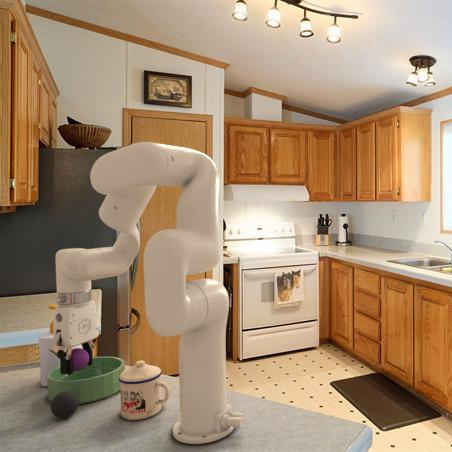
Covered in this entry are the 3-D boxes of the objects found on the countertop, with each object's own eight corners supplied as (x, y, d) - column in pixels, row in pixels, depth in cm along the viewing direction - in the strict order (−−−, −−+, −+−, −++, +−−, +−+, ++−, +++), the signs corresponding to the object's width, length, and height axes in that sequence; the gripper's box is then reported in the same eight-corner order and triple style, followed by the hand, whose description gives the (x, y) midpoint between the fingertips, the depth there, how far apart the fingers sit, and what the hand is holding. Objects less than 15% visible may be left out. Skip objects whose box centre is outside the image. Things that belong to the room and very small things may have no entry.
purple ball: (94, 367, 110) (94, 346, 110) (77, 375, 105) (76, 353, 105) (76, 365, 112) (76, 344, 112) (58, 373, 106) (57, 351, 106)
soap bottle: (69, 368, 128) (66, 300, 128) (93, 369, 127) (90, 301, 126) (31, 386, 115) (28, 311, 115) (57, 388, 114) (54, 311, 113)
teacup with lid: (110, 418, 96) (109, 367, 96) (137, 401, 105) (136, 353, 104) (157, 424, 93) (156, 371, 93) (181, 405, 102) (180, 357, 101)
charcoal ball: (85, 412, 99) (84, 388, 99) (65, 423, 94) (64, 398, 94) (65, 409, 101) (64, 386, 101) (44, 421, 95) (43, 396, 95)
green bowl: (140, 380, 118) (139, 358, 118) (89, 409, 101) (88, 384, 100) (86, 375, 122) (86, 354, 122) (30, 402, 105) (29, 378, 105)
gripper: (57, 306, 98) (60, 384, 99) (112, 292, 115) (114, 359, 116) (31, 304, 100) (34, 381, 101) (88, 291, 117) (91, 357, 118)
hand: (77, 368), depth 108 cm, fingers closed on purple ball, 5 cm apart
